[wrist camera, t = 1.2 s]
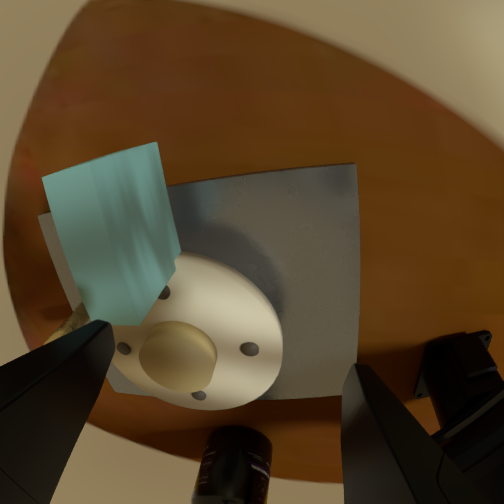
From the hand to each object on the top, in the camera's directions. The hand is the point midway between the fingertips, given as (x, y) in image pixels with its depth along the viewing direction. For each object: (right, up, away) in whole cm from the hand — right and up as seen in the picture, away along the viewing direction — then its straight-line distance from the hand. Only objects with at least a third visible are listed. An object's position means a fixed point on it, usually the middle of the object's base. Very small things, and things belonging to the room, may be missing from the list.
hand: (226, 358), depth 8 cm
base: (-3, -2, +14) cm, 15 cm away
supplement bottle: (-1, -17, +21) cm, 27 cm away
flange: (-4, 0, +11) cm, 11 cm away
